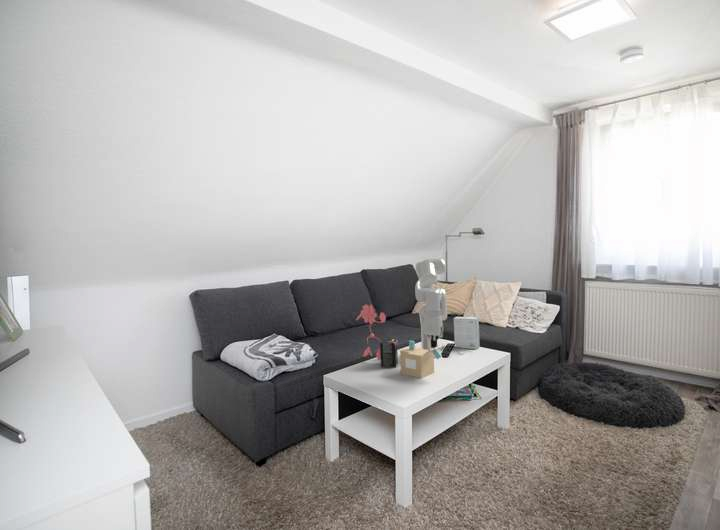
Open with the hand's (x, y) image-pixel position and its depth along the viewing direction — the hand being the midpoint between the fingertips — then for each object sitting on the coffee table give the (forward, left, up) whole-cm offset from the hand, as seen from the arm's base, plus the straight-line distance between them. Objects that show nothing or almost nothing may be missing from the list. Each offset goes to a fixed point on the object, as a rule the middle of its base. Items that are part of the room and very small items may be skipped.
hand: (434, 347), depth 220 cm
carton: (0, -11, -16) cm, 20 cm away
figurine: (-3, -50, -16) cm, 53 cm away
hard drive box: (-64, -17, -16) cm, 68 cm away
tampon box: (-2, -33, -16) cm, 37 cm away
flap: (0, -1, -2) cm, 2 cm away
